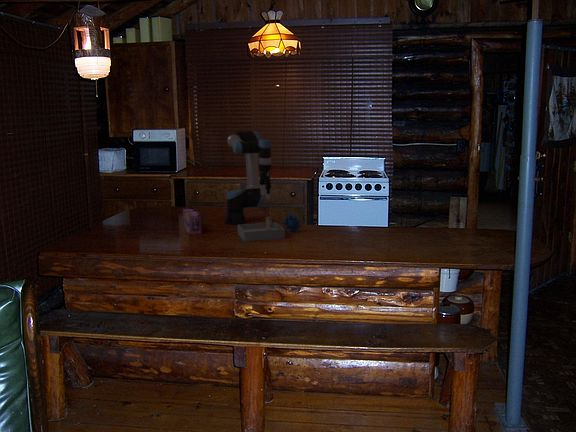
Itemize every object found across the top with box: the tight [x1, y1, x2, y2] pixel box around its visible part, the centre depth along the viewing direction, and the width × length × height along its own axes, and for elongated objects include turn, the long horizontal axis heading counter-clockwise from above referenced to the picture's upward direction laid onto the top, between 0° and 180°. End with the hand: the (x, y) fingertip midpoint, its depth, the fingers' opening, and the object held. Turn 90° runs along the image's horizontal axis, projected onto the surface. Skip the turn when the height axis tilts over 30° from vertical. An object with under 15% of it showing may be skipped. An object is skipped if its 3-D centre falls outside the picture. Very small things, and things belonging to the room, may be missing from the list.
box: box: [237, 221, 286, 242], centre depth 370 cm, size 22×26×6 cm
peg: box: [265, 216, 273, 230], centre depth 370 cm, size 4×4×12 cm
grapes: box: [283, 213, 302, 233], centre depth 379 cm, size 12×7×12 cm, turn 82°
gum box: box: [182, 207, 202, 235], centre depth 385 cm, size 24×8×14 cm, turn 21°
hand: (265, 196), depth 370 cm, fingers open, 13 cm apart
